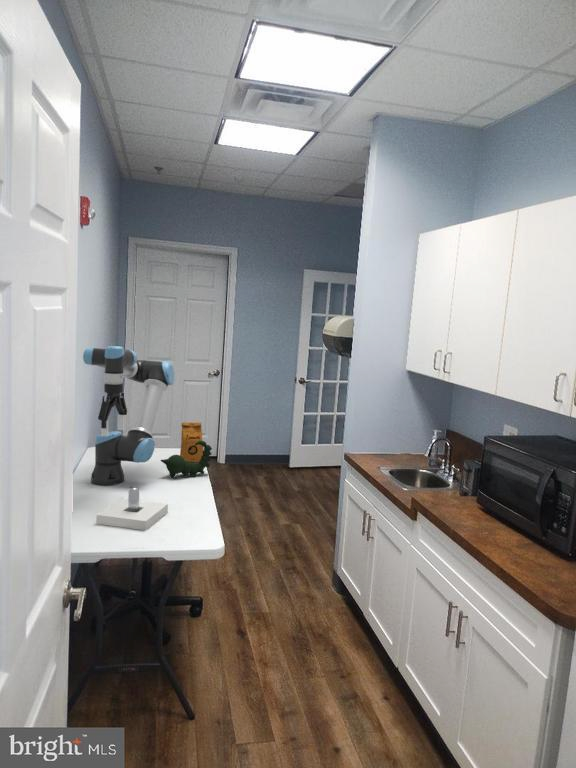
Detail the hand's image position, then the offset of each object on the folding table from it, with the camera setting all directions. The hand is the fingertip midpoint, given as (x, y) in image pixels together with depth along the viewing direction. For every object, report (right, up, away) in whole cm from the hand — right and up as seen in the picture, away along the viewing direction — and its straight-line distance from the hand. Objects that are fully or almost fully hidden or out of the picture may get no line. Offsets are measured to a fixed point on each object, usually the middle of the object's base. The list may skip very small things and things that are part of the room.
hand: (112, 432), depth 231 cm
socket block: (+14, -32, -18) cm, 39 cm away
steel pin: (+14, -32, -18) cm, 39 cm away
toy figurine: (+23, -26, +42) cm, 54 cm away
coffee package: (+21, -22, +70) cm, 76 cm away
